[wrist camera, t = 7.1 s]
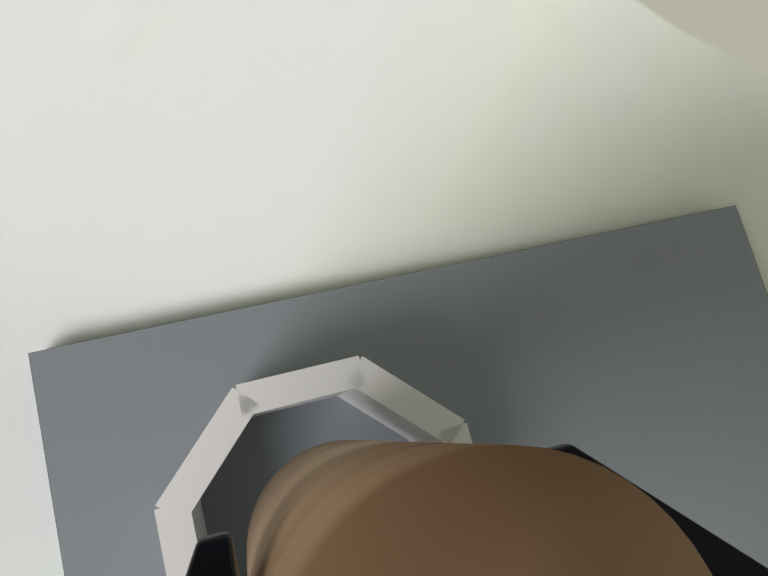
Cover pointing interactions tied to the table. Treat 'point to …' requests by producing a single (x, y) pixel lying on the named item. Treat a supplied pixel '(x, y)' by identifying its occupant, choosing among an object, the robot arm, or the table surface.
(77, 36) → the table surface
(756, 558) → the tool board
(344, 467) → the brown tall cylinder
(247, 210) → the table surface
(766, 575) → the robot arm
